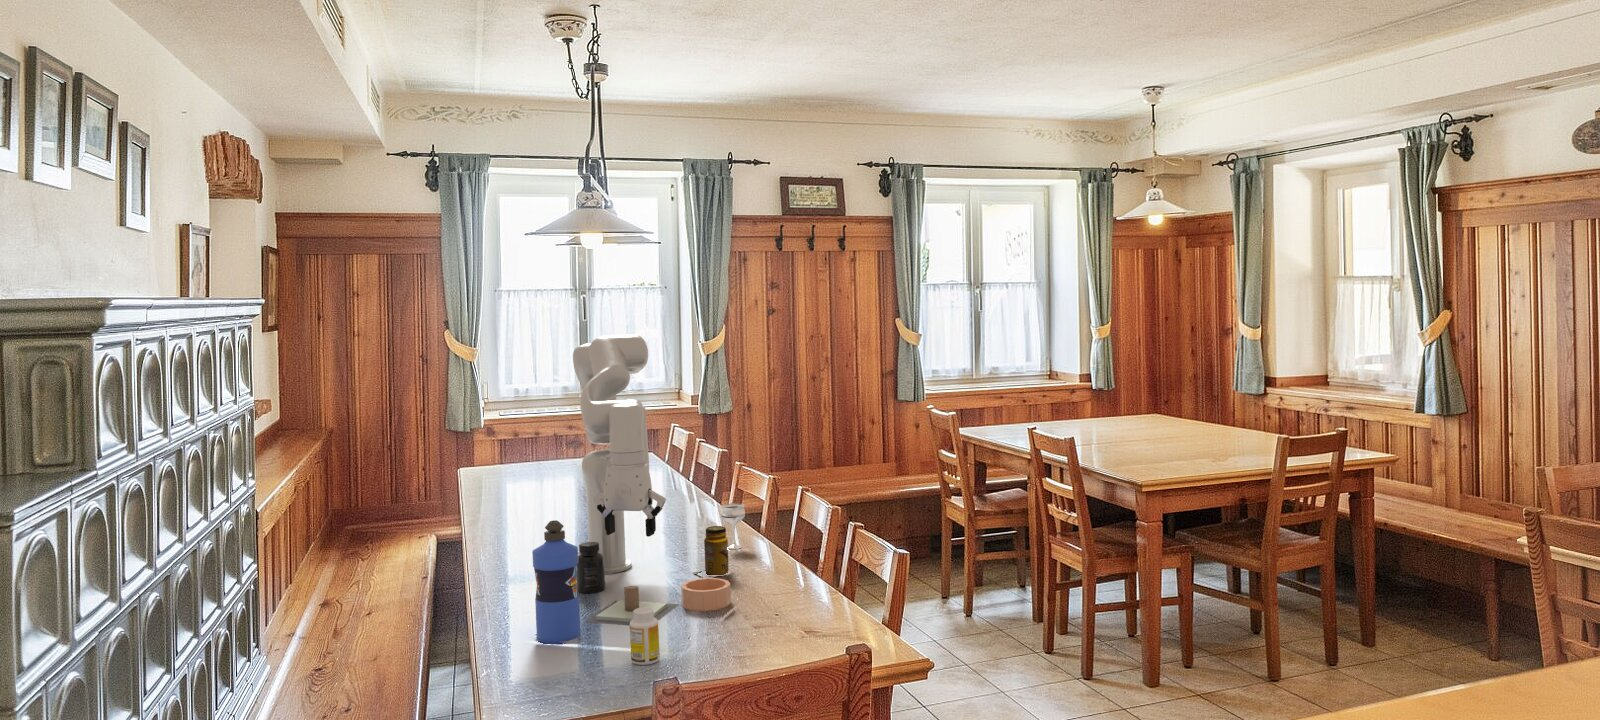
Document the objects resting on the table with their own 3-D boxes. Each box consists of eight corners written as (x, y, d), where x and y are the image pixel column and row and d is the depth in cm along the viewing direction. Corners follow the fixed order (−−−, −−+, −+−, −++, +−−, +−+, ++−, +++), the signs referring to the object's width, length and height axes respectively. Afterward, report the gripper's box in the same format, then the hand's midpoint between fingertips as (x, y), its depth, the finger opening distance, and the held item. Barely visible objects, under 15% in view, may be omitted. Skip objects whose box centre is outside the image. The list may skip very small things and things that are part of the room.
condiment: (735, 574, 263) (733, 528, 262) (705, 580, 258) (704, 533, 257) (721, 568, 269) (719, 523, 268) (692, 573, 264) (690, 528, 263)
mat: (583, 624, 225) (583, 621, 225) (615, 602, 240) (615, 600, 240) (650, 629, 221) (650, 626, 221) (679, 606, 236) (678, 604, 236)
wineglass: (745, 550, 287) (743, 507, 286) (721, 550, 287) (719, 508, 286) (746, 544, 294) (745, 503, 293) (723, 544, 294) (722, 503, 293)
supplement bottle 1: (610, 589, 252) (608, 541, 251) (596, 597, 246) (594, 548, 245) (586, 587, 254) (584, 539, 253) (571, 595, 248) (569, 546, 247)
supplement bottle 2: (659, 655, 205) (657, 604, 204) (660, 664, 199) (658, 613, 199) (630, 657, 204) (628, 607, 203) (631, 667, 198) (629, 615, 198)
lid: (595, 619, 226) (594, 593, 226) (619, 603, 238) (618, 578, 238) (645, 623, 223) (644, 596, 223) (667, 606, 235) (666, 581, 234)
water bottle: (584, 629, 222) (580, 515, 220) (577, 644, 212) (572, 525, 211) (541, 631, 221) (536, 517, 220) (531, 646, 212) (526, 527, 210)
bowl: (675, 611, 233) (674, 590, 232) (693, 597, 243) (692, 576, 243) (720, 614, 230) (719, 592, 229) (736, 600, 240) (736, 579, 240)
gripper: (584, 460, 227) (587, 537, 228) (656, 462, 223) (659, 539, 224) (600, 455, 234) (602, 529, 235) (670, 456, 230) (672, 532, 231)
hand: (630, 534), depth 230 cm, fingers open, 9 cm apart
